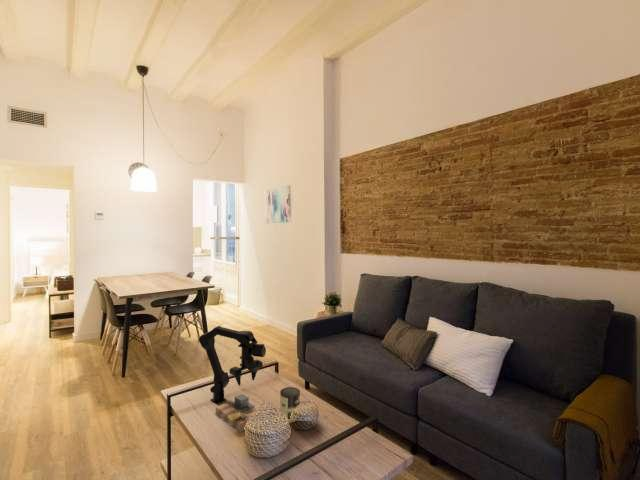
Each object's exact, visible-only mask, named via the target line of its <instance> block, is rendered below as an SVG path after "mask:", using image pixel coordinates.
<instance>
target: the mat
mask: <svg viewBox="0 0 640 480" xmlns="http://www.w3.org/2000/svg"><path fill="white" fill-rule="evenodd" d="M230 406H231V407H233V408H234V409H236V410H238V411H239V412H241V413H242V414H243V413H244V412H246V411H248V410H251V409H252V408H254V407H255V405H253V404H252V403H250V402H249V406H248V407H246V408H244V409H242V410H240V409H239V408H237V407H235V406H234V403H233V404H230Z"/></svg>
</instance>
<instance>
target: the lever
mask: <svg viewBox="0 0 640 480" xmlns="http://www.w3.org/2000/svg"><path fill="white" fill-rule="evenodd" d="M243 417H244V416H243V415H241V414H240V413H238V412H236V413H234V414H230V415H228V418H229V419H231V420H236V419H239V418H243Z"/></svg>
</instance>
